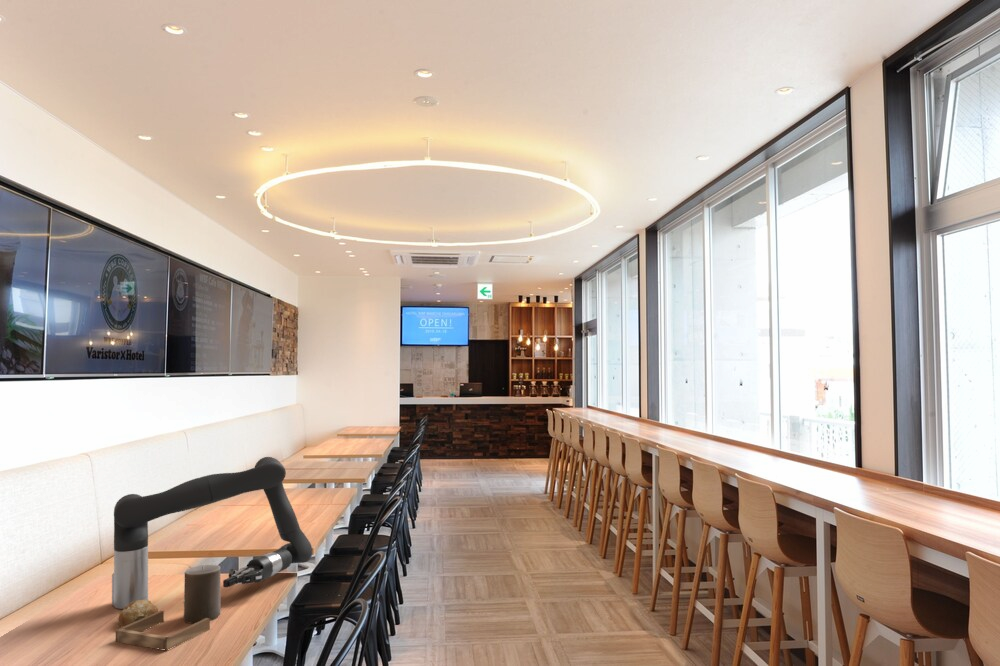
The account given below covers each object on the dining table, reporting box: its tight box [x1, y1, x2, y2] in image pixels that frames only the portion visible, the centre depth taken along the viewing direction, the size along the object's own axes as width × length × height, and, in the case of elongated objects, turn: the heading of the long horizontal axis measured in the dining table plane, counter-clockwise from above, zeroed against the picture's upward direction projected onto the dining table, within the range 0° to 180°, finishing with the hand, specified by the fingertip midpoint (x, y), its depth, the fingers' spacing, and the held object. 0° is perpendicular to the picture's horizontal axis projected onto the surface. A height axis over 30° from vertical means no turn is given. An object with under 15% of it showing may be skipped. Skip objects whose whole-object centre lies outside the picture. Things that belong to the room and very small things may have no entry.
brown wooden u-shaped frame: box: [115, 610, 211, 651], centre depth 177 cm, size 18×14×3 cm
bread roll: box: [117, 600, 160, 628], centre depth 187 cm, size 10×10×8 cm
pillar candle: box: [183, 564, 221, 624], centre depth 190 cm, size 10×10×15 cm
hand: (225, 584), depth 198 cm, fingers closed
